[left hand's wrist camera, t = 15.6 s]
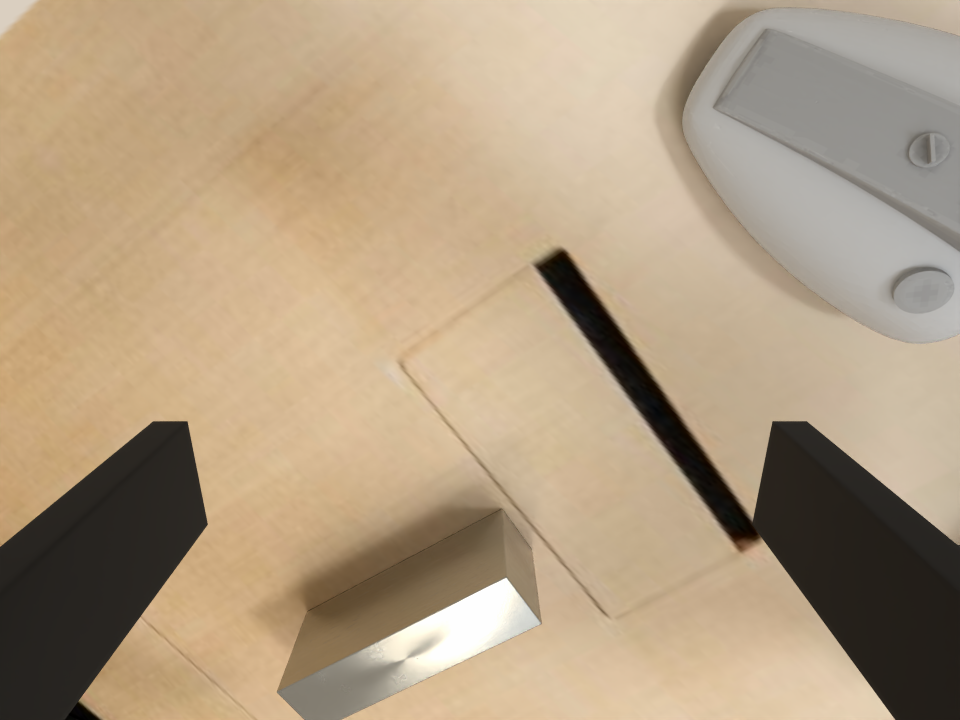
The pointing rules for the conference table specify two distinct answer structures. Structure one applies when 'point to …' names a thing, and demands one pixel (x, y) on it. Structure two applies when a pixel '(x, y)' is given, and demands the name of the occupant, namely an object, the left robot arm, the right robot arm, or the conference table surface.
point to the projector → (842, 159)
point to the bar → (413, 621)
